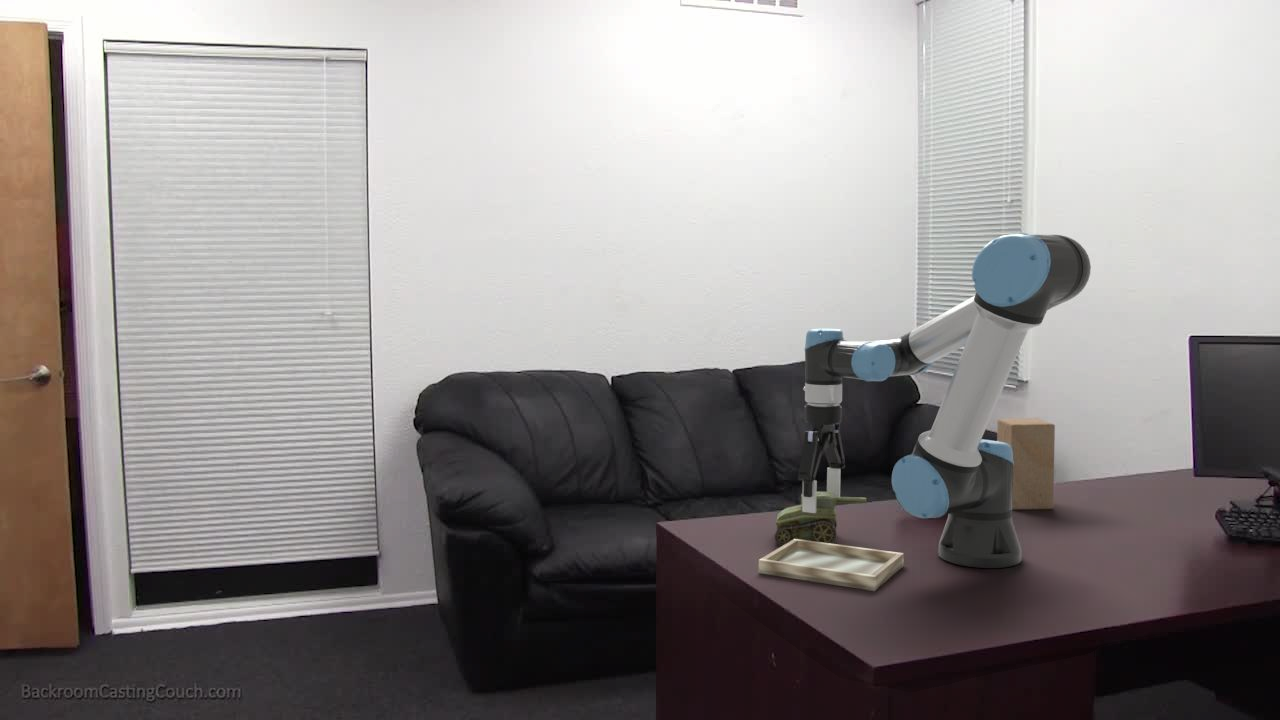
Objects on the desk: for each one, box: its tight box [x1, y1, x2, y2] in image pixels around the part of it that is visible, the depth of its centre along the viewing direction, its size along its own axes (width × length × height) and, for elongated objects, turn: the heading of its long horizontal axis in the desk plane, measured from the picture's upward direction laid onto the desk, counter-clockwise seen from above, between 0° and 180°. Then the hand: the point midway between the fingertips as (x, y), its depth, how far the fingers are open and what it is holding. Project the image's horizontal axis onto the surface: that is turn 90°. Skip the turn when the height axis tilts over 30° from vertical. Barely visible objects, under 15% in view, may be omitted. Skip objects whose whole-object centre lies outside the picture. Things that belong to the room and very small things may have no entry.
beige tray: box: [758, 539, 905, 592], centre depth 185 cm, size 22×17×2 cm
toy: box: [774, 491, 867, 546], centre depth 205 cm, size 10×18×10 cm, turn 78°
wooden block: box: [996, 417, 1056, 511], centre depth 233 cm, size 10×10×20 cm
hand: (821, 505), depth 205 cm, fingers open, 13 cm apart
